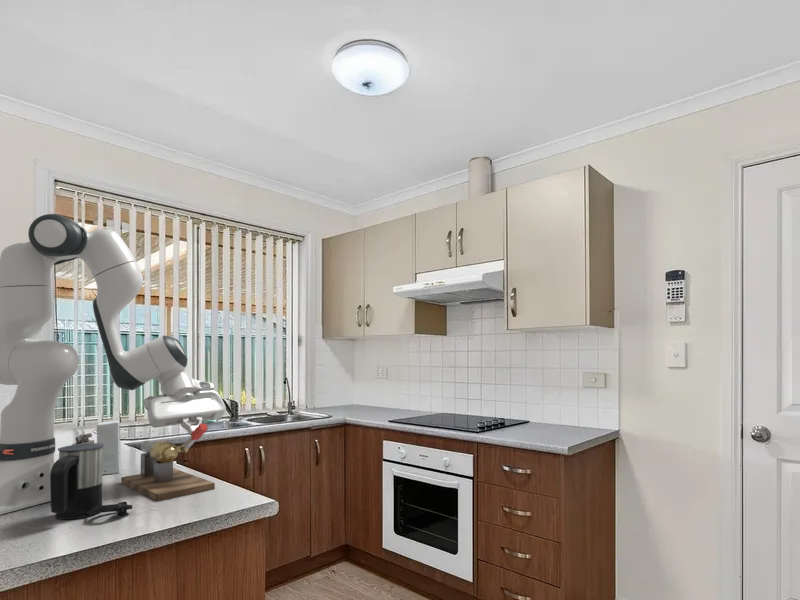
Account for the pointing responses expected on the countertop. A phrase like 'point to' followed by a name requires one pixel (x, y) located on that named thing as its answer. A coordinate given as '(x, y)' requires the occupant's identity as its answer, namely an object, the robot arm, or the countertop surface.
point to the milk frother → (80, 483)
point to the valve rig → (164, 474)
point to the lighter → (84, 439)
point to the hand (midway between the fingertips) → (196, 433)
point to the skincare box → (109, 446)
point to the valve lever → (194, 437)
